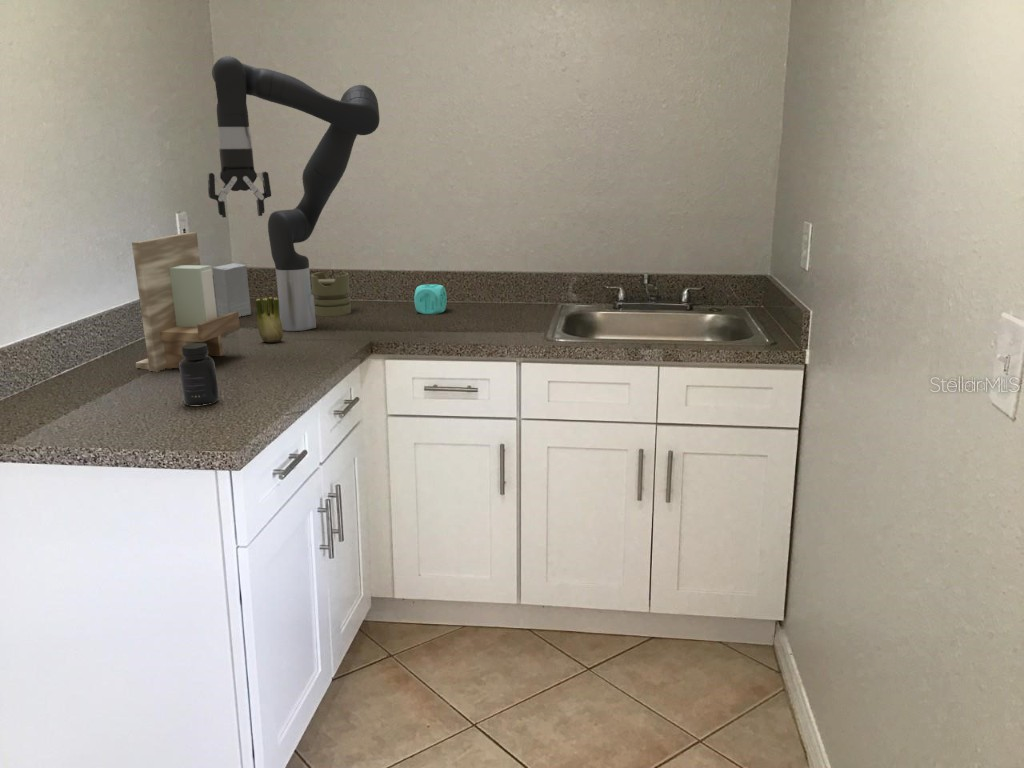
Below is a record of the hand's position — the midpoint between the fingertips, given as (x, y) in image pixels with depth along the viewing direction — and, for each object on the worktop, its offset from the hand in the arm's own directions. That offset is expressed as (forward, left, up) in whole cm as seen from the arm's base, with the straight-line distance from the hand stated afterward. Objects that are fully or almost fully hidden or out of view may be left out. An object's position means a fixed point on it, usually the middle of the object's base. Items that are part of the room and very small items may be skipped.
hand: (242, 216), depth 206 cm
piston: (-31, -42, -34) cm, 62 cm away
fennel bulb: (-6, -10, -34) cm, 36 cm away
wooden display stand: (+15, +1, -34) cm, 37 cm away
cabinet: (+13, +2, -25) cm, 28 cm away
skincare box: (-3, -52, -34) cm, 62 cm away
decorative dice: (-58, -27, -34) cm, 73 cm away
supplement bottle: (+18, +39, -34) cm, 55 cm away
